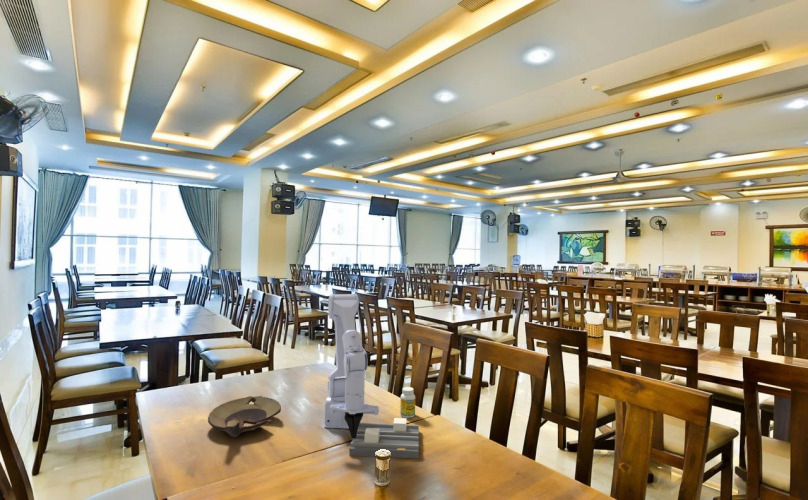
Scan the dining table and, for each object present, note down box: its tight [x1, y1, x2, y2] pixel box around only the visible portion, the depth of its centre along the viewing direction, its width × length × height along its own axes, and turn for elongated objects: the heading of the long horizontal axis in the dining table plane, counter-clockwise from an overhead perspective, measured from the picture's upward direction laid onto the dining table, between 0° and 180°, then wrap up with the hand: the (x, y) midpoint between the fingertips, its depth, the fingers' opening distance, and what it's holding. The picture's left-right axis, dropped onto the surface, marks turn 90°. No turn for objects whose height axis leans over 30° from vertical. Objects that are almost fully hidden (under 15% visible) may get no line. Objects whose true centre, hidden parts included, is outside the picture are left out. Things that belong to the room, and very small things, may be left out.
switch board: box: [348, 422, 420, 459], centre depth 123 cm, size 20×17×3 cm
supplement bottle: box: [399, 386, 416, 419], centre depth 143 cm, size 5×5×10 cm
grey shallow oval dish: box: [207, 395, 282, 438], centre depth 131 cm, size 22×30×8 cm
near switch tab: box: [364, 428, 379, 443], centre depth 119 cm, size 4×4×3 cm
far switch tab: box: [392, 417, 408, 432], centre depth 126 cm, size 4×4×3 cm
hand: (353, 437), depth 119 cm, fingers closed
